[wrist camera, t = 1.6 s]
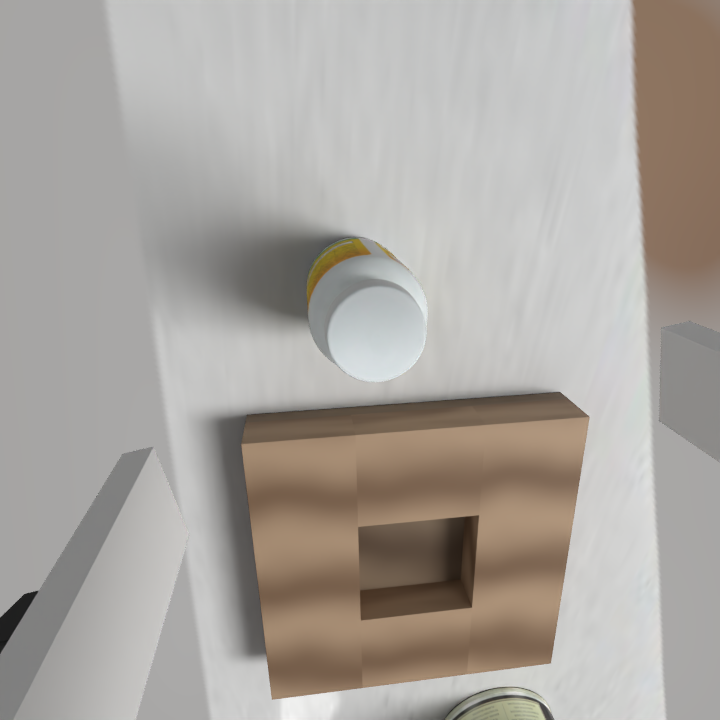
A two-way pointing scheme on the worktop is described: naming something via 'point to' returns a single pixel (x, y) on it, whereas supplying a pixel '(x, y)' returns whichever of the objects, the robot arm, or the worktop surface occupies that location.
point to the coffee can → (503, 706)
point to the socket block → (411, 537)
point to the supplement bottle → (366, 310)
